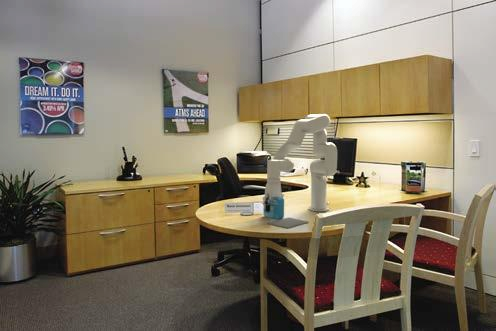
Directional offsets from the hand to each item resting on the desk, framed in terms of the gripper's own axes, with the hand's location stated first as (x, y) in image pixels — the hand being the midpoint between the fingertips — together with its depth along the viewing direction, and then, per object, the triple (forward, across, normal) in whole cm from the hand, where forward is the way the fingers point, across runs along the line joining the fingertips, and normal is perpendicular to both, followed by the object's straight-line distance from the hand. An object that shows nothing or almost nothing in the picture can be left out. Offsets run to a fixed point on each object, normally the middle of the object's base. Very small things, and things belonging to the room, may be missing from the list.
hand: (273, 210), depth 228 cm
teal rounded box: (+4, 0, 0) cm, 4 cm away
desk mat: (+4, +5, +15) cm, 16 cm away
